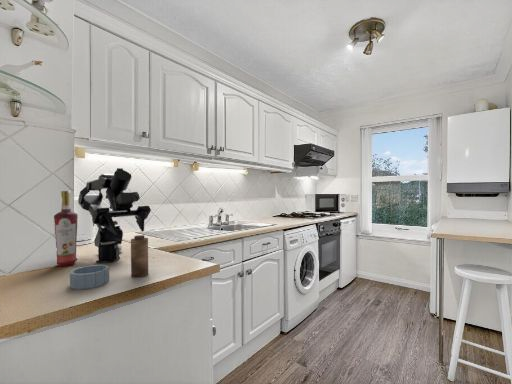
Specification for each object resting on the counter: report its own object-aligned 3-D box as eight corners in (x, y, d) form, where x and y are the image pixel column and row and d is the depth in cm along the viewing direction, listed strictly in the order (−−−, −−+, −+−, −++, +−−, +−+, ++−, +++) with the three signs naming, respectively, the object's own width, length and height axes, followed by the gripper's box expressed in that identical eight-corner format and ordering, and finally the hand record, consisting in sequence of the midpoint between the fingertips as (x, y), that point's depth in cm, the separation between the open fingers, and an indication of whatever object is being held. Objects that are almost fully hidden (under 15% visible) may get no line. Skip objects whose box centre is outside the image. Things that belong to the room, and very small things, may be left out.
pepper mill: (128, 278, 84) (127, 237, 84) (135, 272, 90) (134, 234, 90) (145, 277, 85) (144, 237, 85) (150, 272, 90) (150, 234, 90)
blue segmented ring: (62, 290, 74) (62, 275, 74) (83, 278, 84) (83, 265, 84) (98, 289, 75) (97, 274, 75) (114, 277, 85) (114, 264, 85)
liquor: (79, 261, 105) (78, 190, 105) (76, 265, 99) (75, 191, 99) (56, 263, 102) (55, 191, 102) (52, 268, 96) (51, 191, 95)
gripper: (95, 184, 89) (107, 220, 82) (148, 184, 103) (163, 215, 96) (87, 206, 94) (98, 241, 87) (139, 203, 108) (152, 234, 101)
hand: (130, 232), depth 93 cm, fingers open, 9 cm apart
